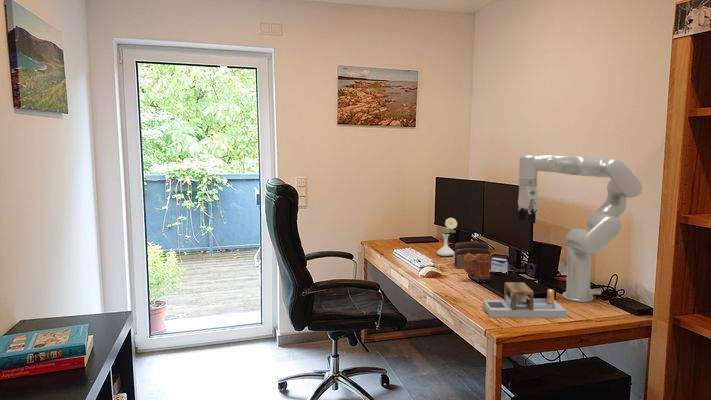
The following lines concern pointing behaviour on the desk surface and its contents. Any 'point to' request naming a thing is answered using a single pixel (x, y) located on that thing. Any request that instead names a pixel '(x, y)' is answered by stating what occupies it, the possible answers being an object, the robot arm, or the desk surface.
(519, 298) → the block
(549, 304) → the sled
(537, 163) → the robot arm
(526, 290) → the tunnel
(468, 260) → the mug
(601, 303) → the desk surface
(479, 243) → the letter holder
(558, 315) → the track deck
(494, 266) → the box
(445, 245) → the flower in vase
